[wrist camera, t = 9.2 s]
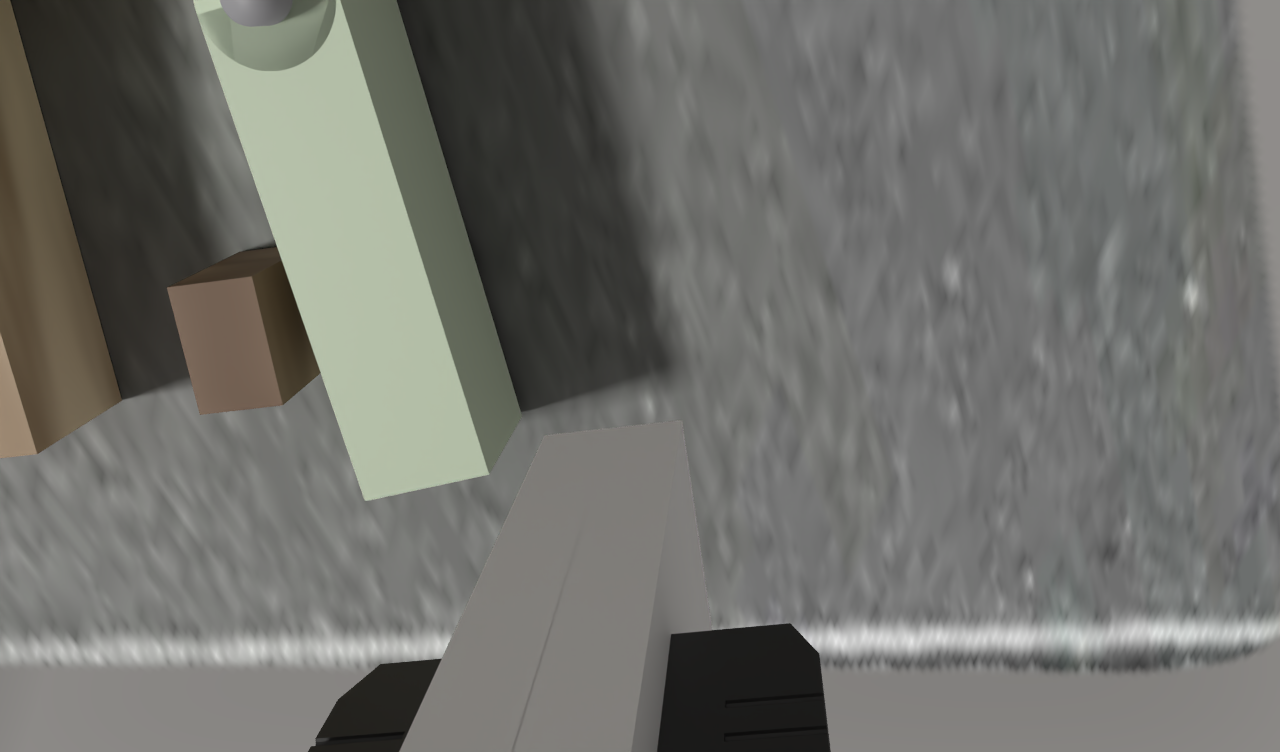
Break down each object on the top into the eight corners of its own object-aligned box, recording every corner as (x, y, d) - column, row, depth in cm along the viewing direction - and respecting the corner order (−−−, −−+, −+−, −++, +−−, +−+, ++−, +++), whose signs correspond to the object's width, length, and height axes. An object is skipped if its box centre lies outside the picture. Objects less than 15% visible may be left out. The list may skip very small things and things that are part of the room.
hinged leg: (249, -53, 28) (151, -63, 24) (369, -89, 28) (293, -106, 23) (412, 440, 32) (354, 515, 27) (522, 416, 31) (481, 487, 27)
